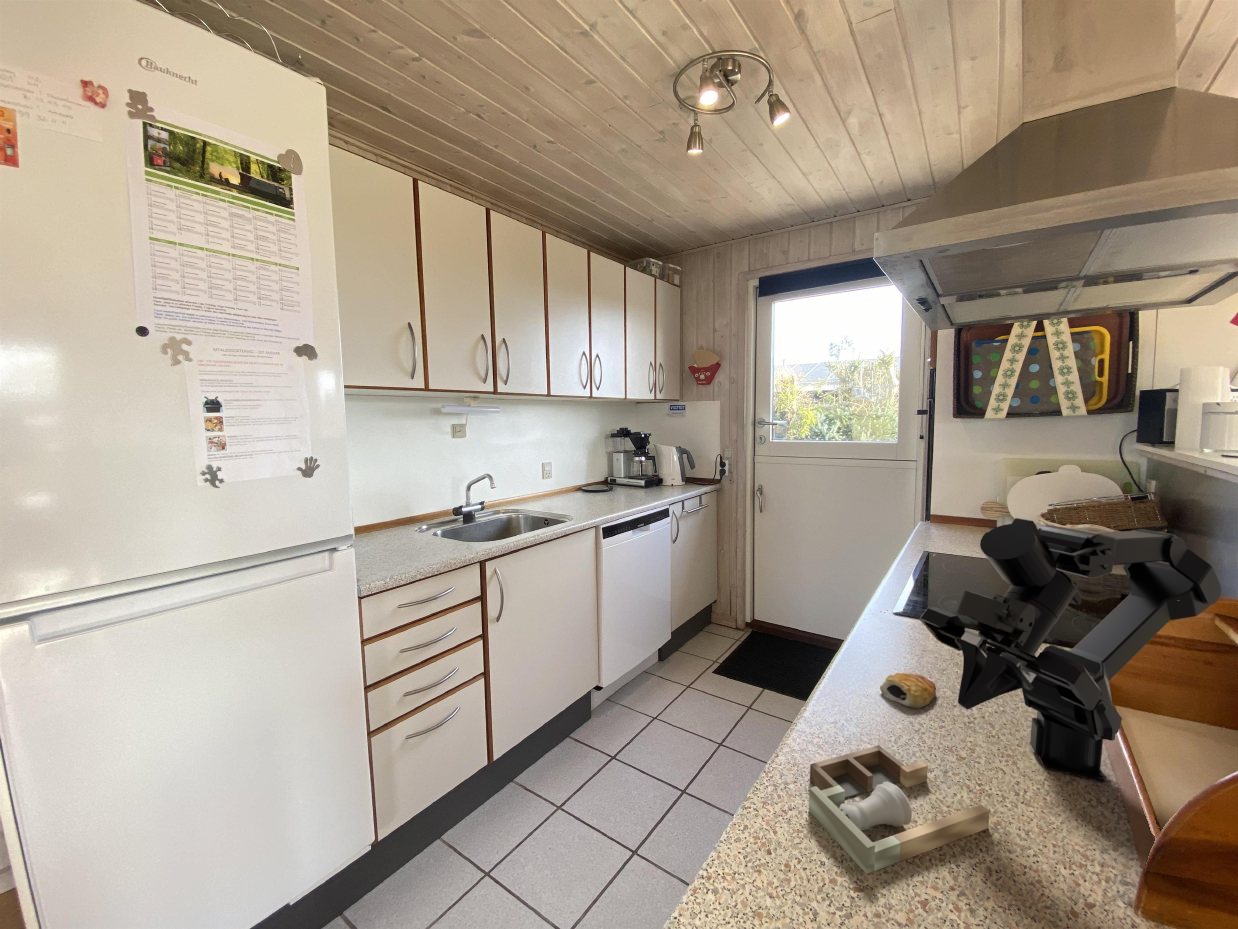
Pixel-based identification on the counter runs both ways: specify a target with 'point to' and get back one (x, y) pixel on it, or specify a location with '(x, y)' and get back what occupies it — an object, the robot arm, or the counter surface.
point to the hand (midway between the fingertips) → (962, 706)
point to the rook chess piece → (880, 808)
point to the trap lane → (863, 776)
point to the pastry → (909, 689)
